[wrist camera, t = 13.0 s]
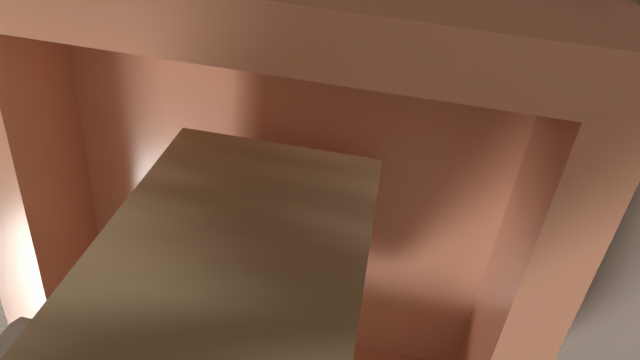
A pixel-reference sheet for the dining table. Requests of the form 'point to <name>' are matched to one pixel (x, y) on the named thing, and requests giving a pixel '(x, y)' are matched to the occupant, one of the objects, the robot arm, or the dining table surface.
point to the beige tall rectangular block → (220, 260)
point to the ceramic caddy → (345, 142)
